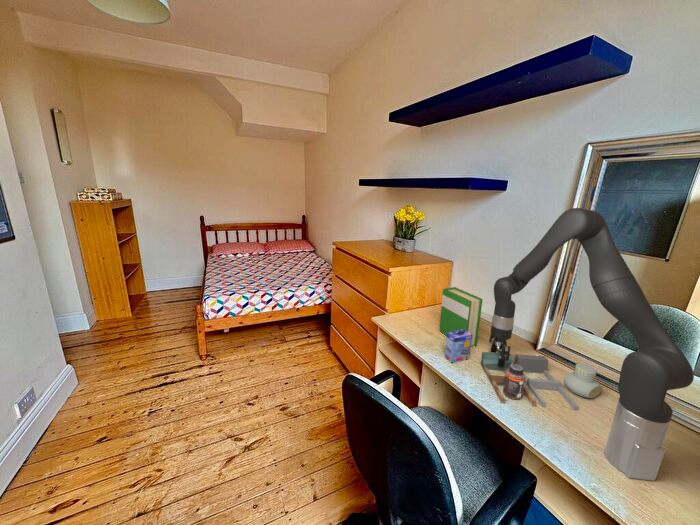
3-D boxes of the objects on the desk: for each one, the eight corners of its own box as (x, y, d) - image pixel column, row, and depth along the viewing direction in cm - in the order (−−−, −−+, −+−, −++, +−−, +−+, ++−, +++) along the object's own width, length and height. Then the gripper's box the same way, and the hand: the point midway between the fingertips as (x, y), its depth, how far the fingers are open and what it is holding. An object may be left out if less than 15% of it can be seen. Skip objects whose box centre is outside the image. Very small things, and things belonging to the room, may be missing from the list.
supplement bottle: (524, 401, 98) (529, 373, 95) (505, 399, 99) (510, 371, 96) (518, 390, 103) (522, 363, 101) (500, 387, 105) (504, 361, 102)
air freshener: (577, 381, 108) (583, 358, 106) (602, 395, 101) (609, 371, 99) (558, 388, 105) (563, 364, 102) (583, 403, 97) (589, 378, 95)
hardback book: (476, 346, 133) (482, 299, 127) (464, 349, 130) (469, 301, 124) (450, 330, 148) (454, 287, 143) (439, 332, 146) (443, 288, 140)
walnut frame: (535, 405, 96) (538, 390, 94) (501, 402, 97) (503, 387, 96) (507, 365, 118) (509, 353, 116) (480, 363, 119) (482, 351, 118)
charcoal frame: (577, 409, 94) (580, 394, 93) (541, 406, 95) (544, 391, 94) (541, 368, 116) (543, 355, 115) (513, 366, 118) (515, 353, 116)
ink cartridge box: (451, 364, 119) (455, 333, 116) (443, 357, 124) (446, 327, 121) (470, 359, 122) (473, 329, 119) (461, 352, 127) (464, 323, 124)
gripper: (520, 334, 105) (513, 372, 109) (505, 317, 118) (499, 351, 122) (498, 332, 106) (493, 370, 110) (486, 316, 119) (481, 350, 123)
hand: (496, 360), depth 116 cm, fingers open, 8 cm apart
